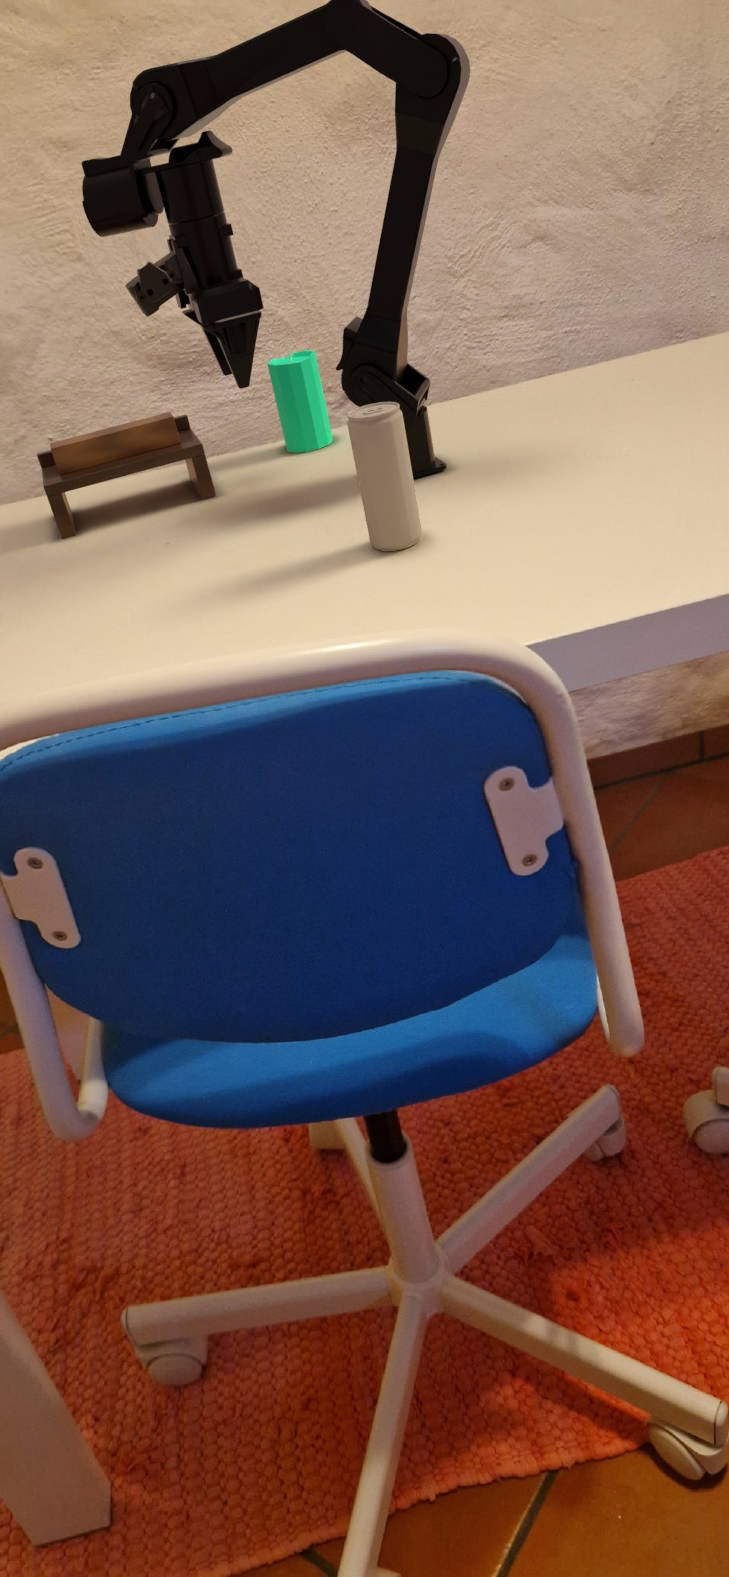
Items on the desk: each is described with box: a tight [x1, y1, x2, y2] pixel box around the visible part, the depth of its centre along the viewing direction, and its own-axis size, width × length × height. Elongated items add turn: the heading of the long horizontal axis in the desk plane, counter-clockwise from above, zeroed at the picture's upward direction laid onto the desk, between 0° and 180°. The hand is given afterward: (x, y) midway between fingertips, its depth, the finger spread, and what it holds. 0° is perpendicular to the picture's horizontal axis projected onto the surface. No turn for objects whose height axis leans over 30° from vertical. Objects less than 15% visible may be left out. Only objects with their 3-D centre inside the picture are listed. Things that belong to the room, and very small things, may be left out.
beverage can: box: [346, 402, 423, 552], centre depth 94 cm, size 5×5×12 cm
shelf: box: [36, 413, 217, 539], centre depth 122 cm, size 10×18×8 cm, turn 106°
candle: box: [267, 343, 334, 454], centre depth 129 cm, size 6×6×12 cm
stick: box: [49, 411, 181, 475], centre depth 120 cm, size 14×3×3 cm, turn 106°
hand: (236, 381), depth 113 cm, fingers open, 9 cm apart
